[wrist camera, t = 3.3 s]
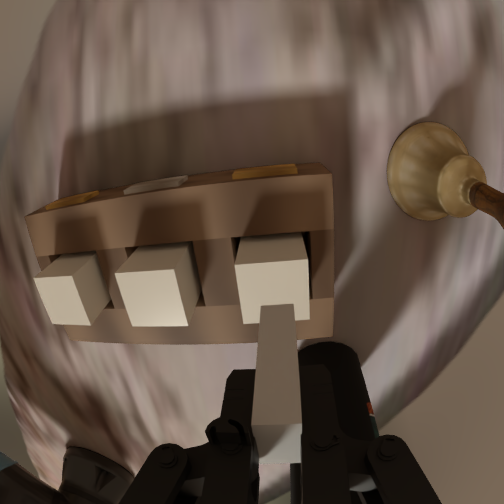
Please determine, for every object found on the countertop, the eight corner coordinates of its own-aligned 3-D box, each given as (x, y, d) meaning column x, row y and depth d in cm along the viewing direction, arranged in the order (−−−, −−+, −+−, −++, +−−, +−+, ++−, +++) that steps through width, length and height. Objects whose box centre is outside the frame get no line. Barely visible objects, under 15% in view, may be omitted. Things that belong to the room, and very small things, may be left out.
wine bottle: (326, 328, 28) (367, 675, 1) (372, 363, 30) (431, 639, 3) (271, 372, 31) (258, 669, 4) (320, 400, 33) (337, 653, 5)
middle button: (154, 289, 24) (132, 326, 20) (142, 242, 23) (114, 273, 18) (202, 286, 24) (188, 325, 19) (193, 237, 22) (173, 269, 18)
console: (92, 311, 29) (70, 340, 25) (57, 196, 25) (23, 213, 20) (323, 301, 27) (332, 336, 23) (319, 158, 22) (331, 168, 18)
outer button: (248, 283, 24) (243, 324, 19) (242, 233, 22) (234, 264, 17) (302, 279, 23) (309, 319, 19) (300, 228, 22) (307, 259, 17)
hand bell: (423, 239, 24) (534, 359, 10) (366, 167, 22) (494, 251, 8) (482, 177, 22) (618, 248, 7) (433, 101, 20) (592, 112, 5)
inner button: (81, 292, 25) (52, 323, 20) (67, 250, 23) (33, 278, 19) (117, 290, 25) (91, 325, 20) (104, 246, 23) (71, 275, 18)
